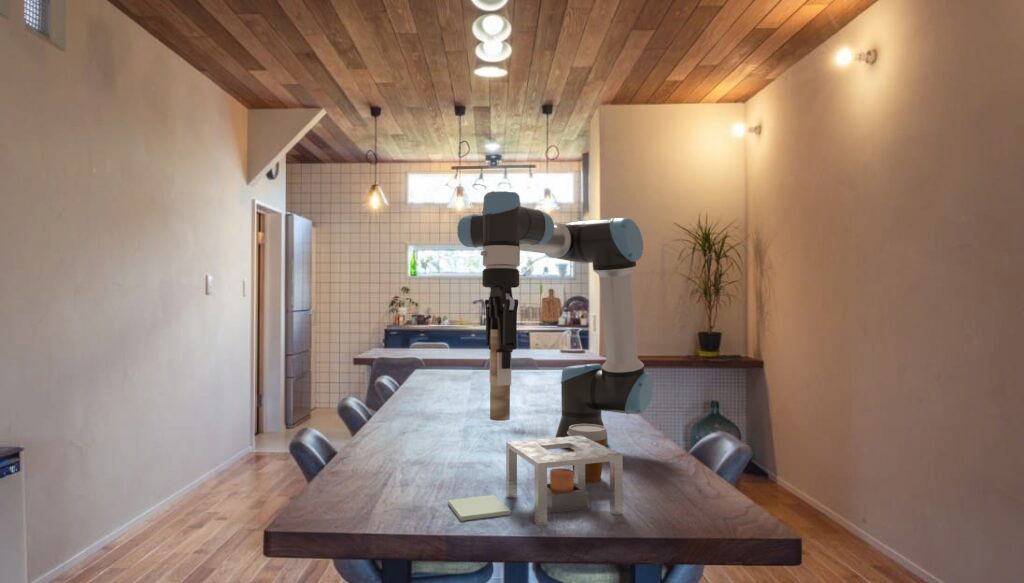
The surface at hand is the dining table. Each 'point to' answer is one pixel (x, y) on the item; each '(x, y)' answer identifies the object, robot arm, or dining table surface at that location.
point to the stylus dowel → (497, 393)
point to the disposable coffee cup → (596, 435)
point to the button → (561, 480)
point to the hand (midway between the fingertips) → (500, 383)
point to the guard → (544, 459)
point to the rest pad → (478, 507)
